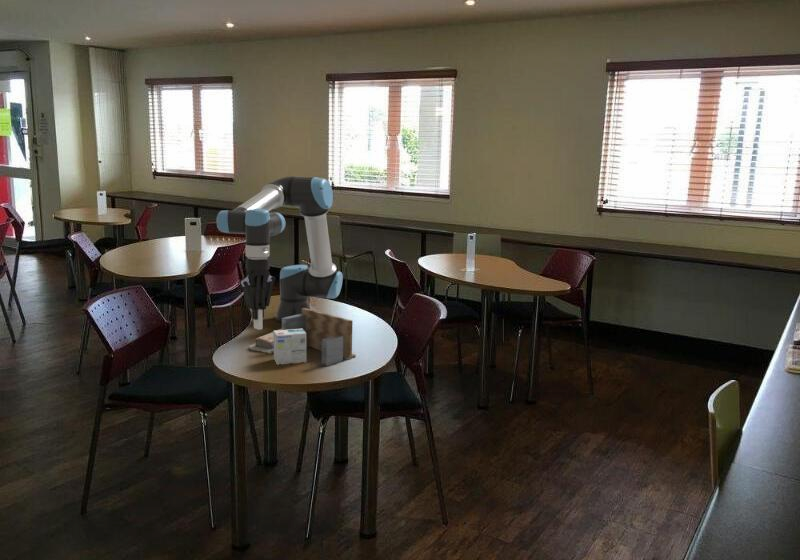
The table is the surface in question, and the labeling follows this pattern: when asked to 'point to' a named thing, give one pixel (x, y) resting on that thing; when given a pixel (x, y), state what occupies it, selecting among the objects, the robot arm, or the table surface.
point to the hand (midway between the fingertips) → (258, 328)
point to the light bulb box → (289, 346)
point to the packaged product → (264, 343)
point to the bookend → (332, 350)
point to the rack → (321, 329)
